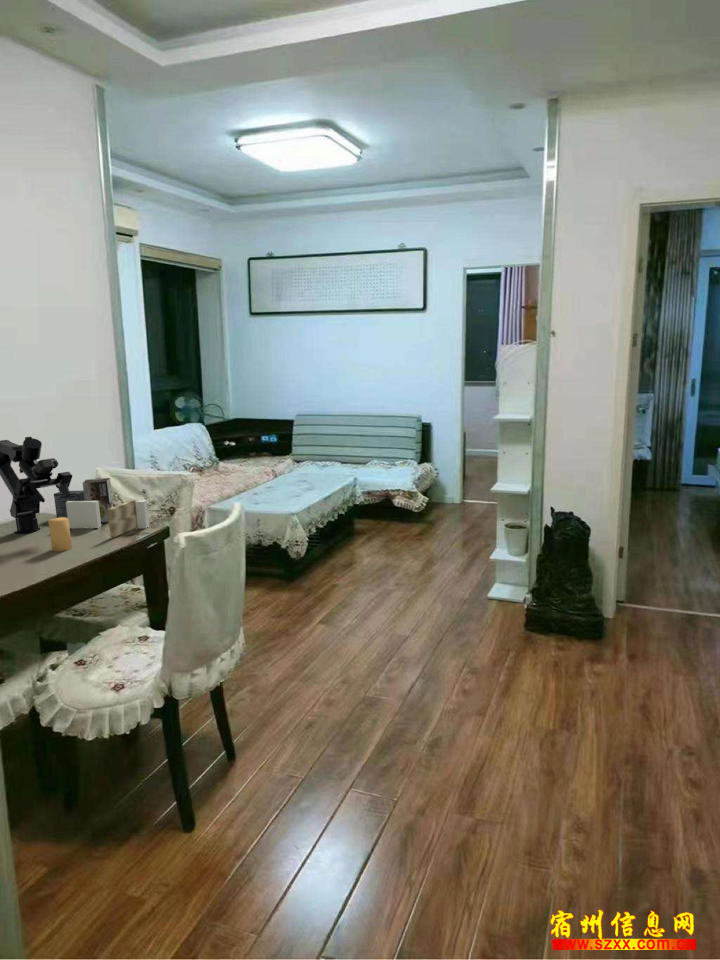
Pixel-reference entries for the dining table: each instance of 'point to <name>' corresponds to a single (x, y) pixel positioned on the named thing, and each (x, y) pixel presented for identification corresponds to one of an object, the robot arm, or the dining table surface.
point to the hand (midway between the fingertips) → (57, 498)
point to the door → (122, 518)
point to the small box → (62, 499)
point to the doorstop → (60, 534)
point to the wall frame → (90, 514)
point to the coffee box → (99, 495)
